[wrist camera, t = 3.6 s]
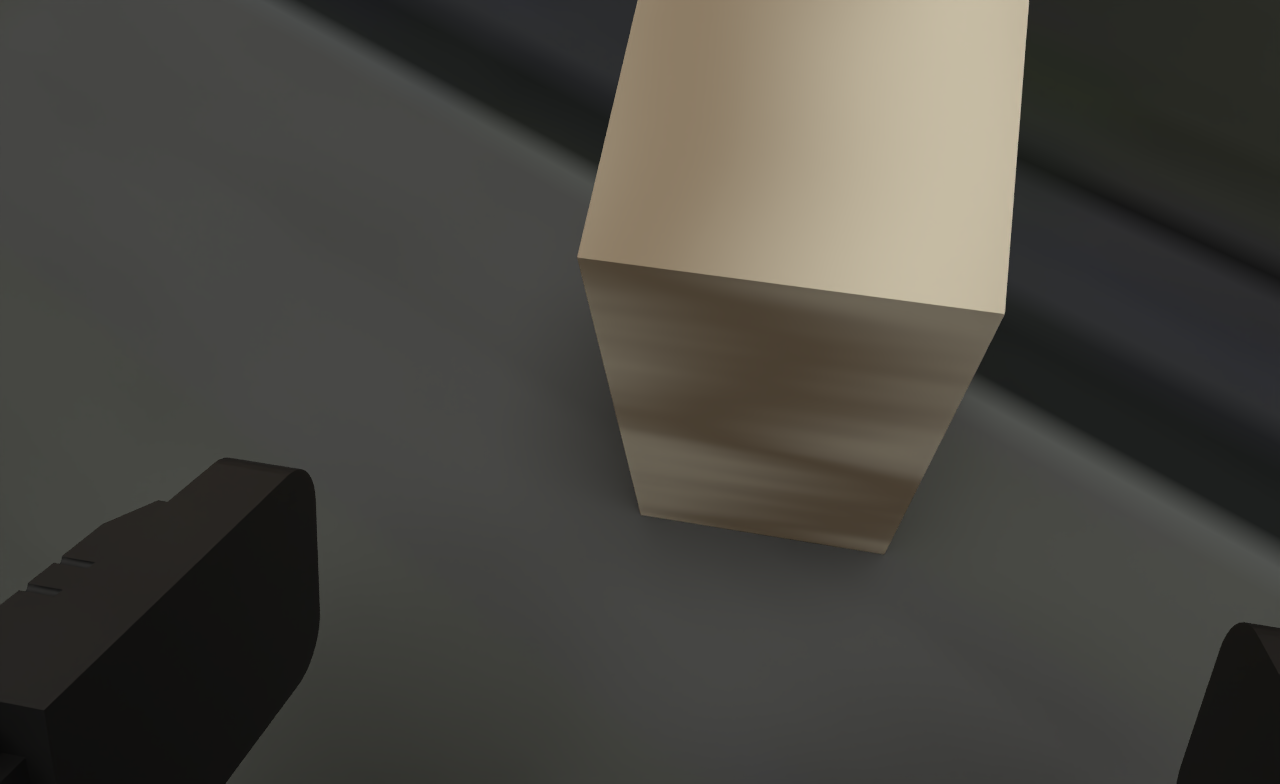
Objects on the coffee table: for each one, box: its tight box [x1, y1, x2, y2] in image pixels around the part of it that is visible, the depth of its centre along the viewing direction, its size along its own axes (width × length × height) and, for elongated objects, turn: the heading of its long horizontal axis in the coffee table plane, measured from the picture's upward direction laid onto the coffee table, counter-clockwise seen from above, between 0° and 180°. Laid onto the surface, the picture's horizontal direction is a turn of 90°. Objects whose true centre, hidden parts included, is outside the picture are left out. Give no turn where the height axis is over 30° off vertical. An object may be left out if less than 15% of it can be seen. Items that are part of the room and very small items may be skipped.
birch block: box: [577, 0, 1029, 554], centre depth 18 cm, size 5×5×10 cm
